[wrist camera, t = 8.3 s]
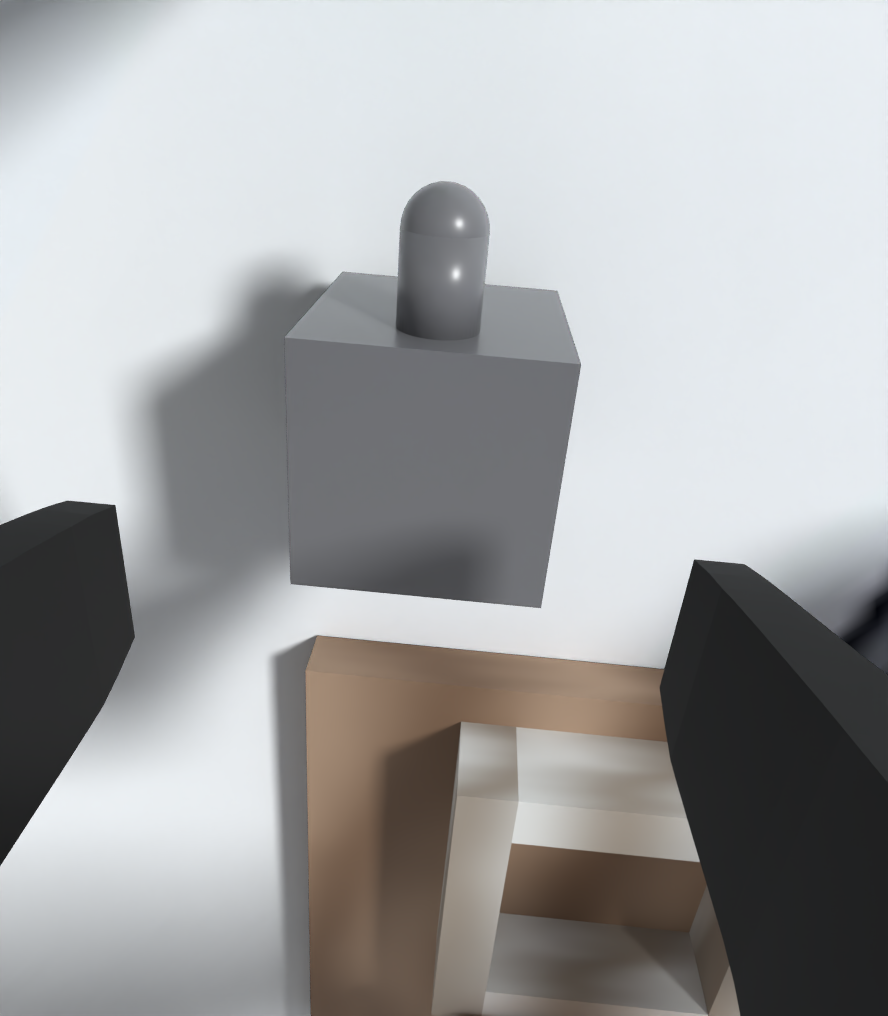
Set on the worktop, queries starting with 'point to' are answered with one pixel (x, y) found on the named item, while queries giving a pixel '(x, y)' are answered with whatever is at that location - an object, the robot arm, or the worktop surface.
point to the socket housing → (499, 840)
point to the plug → (429, 420)
